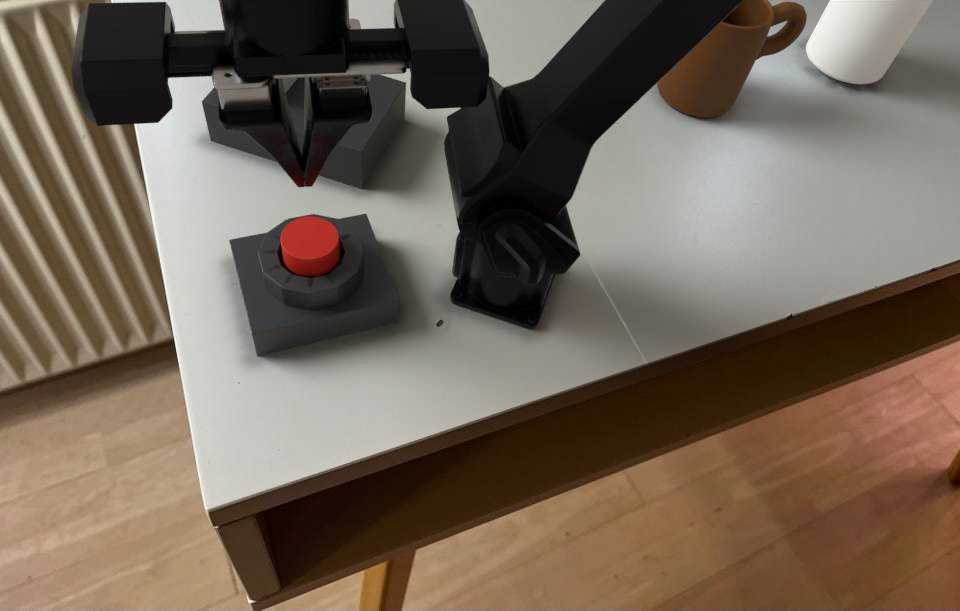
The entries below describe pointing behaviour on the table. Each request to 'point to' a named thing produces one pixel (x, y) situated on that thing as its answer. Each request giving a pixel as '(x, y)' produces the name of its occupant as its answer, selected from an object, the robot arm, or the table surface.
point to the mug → (729, 57)
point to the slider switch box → (354, 150)
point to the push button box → (314, 288)
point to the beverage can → (862, 37)
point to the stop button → (310, 246)
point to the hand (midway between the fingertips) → (304, 181)
